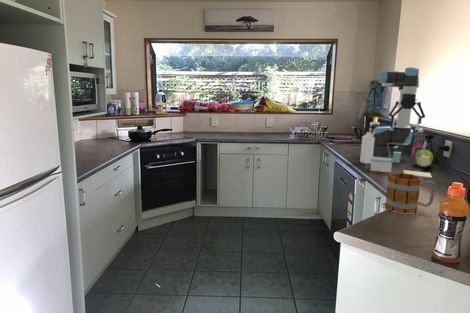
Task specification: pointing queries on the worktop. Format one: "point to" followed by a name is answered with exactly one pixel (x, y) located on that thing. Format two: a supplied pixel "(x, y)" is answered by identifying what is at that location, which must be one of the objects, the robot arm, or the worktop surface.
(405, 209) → the mug
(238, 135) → the worktop surface
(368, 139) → the milk
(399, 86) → the robot arm
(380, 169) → the tub
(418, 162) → the lettuce
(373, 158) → the lid
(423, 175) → the board
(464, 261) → the worktop surface
